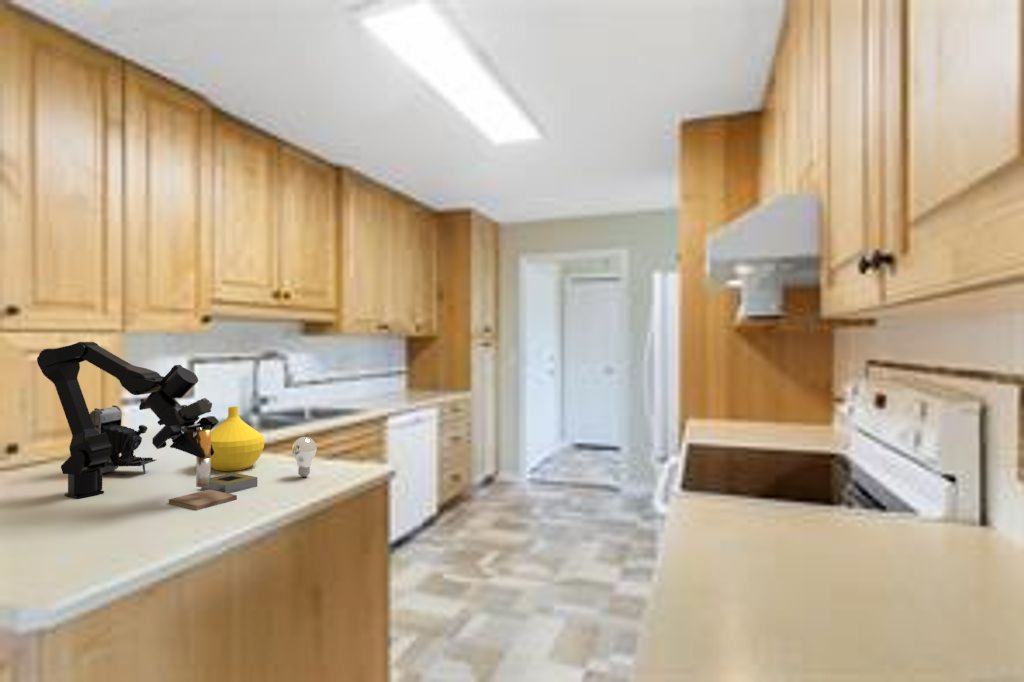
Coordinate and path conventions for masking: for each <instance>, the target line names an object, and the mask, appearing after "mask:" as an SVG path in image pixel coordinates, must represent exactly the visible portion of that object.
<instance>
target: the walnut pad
mask: <svg viewBox="0 0 1024 682" xmlns="http://www.w3.org/2000/svg"><path fill="white" fill-rule="evenodd" d="M237 497H238V495H237V494H232V493H229V494H228V493H223V492H219V491H214V490H202V491H197V492H193V493H190V494H184V495H181V496H177V497H172V498H168V504H171V505H173V506H179V507H183V508H186V509H191V510H195V511H198V510H202V509H205V508H206V509H207V508H209V507H213V506H217V505H220V504H223V503H228V502H231V501H235V500H238V498H237Z"/></svg>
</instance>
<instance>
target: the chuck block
mask: <svg viewBox="0 0 1024 682" xmlns="http://www.w3.org/2000/svg"><path fill="white" fill-rule="evenodd" d="M256 487H258V476H254V475H248V474H242V473H238V472H230V473H226V474H222V475H217V476H212V477H210V486H206V487H200V488H201V490H202V491H205V490H214V491H219V492H223V493H228V494H232V493H236V492H240V491H243V490H247V489H251V488H256Z"/></svg>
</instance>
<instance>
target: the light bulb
mask: <svg viewBox="0 0 1024 682" xmlns="http://www.w3.org/2000/svg"><path fill="white" fill-rule="evenodd" d="M317 449H318V448H317V443H316V442H315V440H314V439H312V438H311V437H308V436H301V437H298V438H297V439H296V440H294V443H293V444H292V447H291V451H292V452H291V453H292V456H293V457H294V458H295V461H296V464H297V467H298V469H297V471H298V475H299V476H300V477H301V478H307V477H308V476H309V475H310V474H311V465H312V462H313V461H312V460H313V459H314V457H315V455H316V453H317Z"/></svg>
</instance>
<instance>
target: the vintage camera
mask: <svg viewBox="0 0 1024 682" xmlns="http://www.w3.org/2000/svg"><path fill="white" fill-rule="evenodd" d="M122 411H123V410H121V408H120V406H118V405H111V407H104V408H94V409H93V410H92V411H90V412H89V414H90V416H91V419H92V422H93V425H94V428H95V429H96V430H97V431H98V432H99V433H100V434H102V433H107V435H108V438H109V442H110V444H111V445H112V447H110V448H111V455H110V457H109V459H108V461H107V464H106V467H105V468H100V469H101V474H102V475H103V474H106V473H109V472H113V471H114V470H117V469H118V468H119V467H141V466H142V471H143V472H142V473H143V475H146V465H148V464H150V463H153V462H156V461H157V459H154V457H141V456H136V455H135V454H134V452H135V450H137V449H138V448H139V447H140V445H141V443H142V441H143V438H142V436H141V435H143V434H145V433H146V432H147V431H148V427H147V426H146V425H144V424H140V425H138V430H135V429H134V428H132V427H127V426H124V425H122V415H123V414H122V413H123V412H122Z"/></svg>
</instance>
